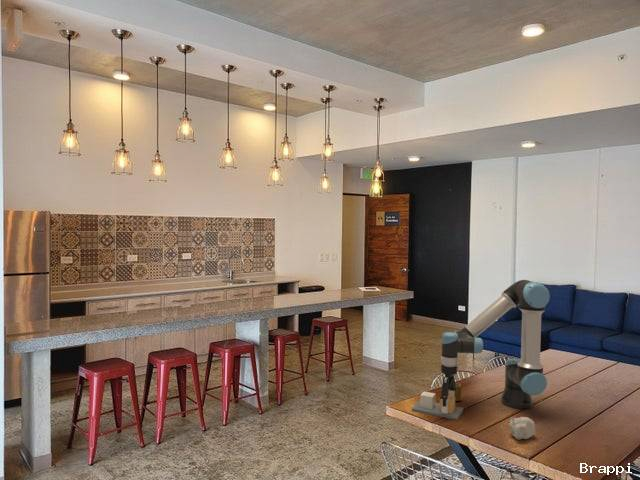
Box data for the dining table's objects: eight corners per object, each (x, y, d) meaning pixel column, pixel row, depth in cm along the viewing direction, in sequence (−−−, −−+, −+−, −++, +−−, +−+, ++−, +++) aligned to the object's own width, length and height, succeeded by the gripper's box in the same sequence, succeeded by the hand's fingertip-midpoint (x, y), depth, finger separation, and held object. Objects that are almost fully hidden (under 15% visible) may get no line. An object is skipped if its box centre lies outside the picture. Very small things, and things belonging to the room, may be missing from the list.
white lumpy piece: (517, 443, 200) (501, 432, 215) (543, 442, 201) (525, 431, 216) (516, 420, 201) (500, 411, 216) (542, 420, 202) (524, 411, 217)
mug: (465, 400, 245) (459, 381, 247) (445, 405, 247) (440, 385, 249) (464, 397, 256) (459, 378, 259) (445, 401, 258) (440, 382, 261)
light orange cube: (454, 409, 235) (455, 397, 235) (452, 413, 229) (452, 401, 229) (442, 406, 238) (442, 394, 237) (439, 410, 232) (439, 398, 232)
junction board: (463, 410, 237) (463, 395, 237) (457, 420, 225) (457, 404, 224) (419, 401, 247) (420, 388, 247) (411, 410, 235) (412, 396, 235)
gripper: (447, 357, 246) (446, 398, 246) (434, 370, 224) (433, 415, 224) (462, 359, 242) (461, 401, 243) (451, 372, 220) (449, 418, 221)
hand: (447, 408), depth 233 cm, fingers open, 13 cm apart
